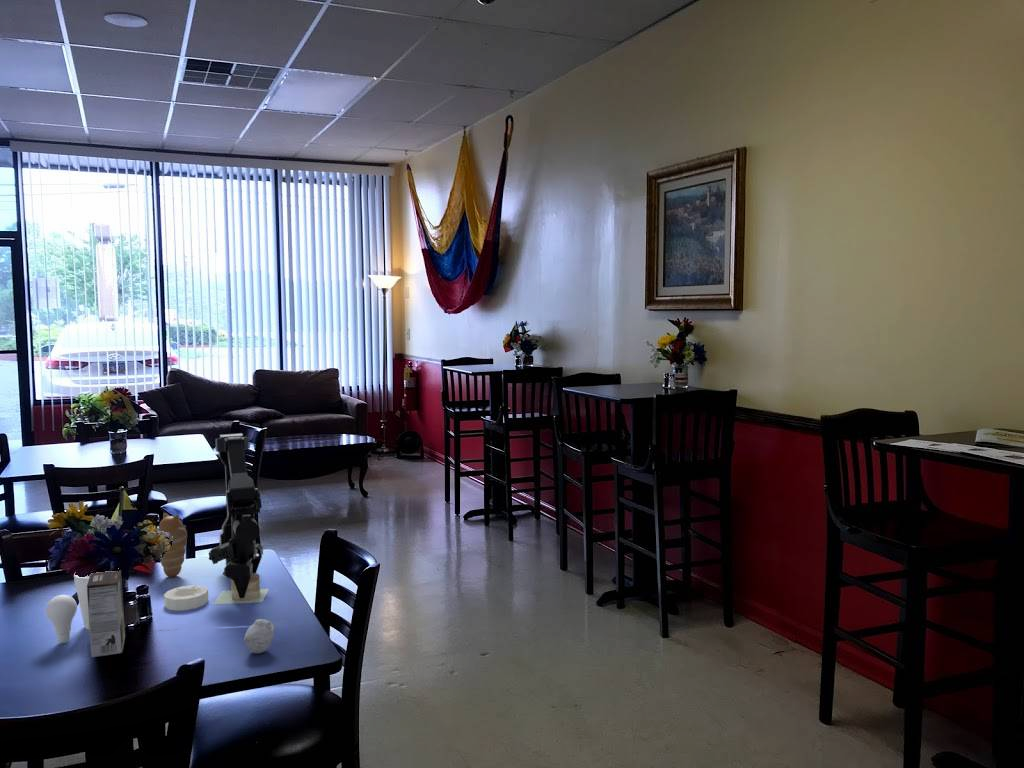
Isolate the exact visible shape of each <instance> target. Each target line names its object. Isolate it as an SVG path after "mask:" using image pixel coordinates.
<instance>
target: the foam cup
mask: <svg viewBox="0 0 1024 768" xmlns="http://www.w3.org/2000/svg"><path fill="white" fill-rule="evenodd" d="M73 579H74V586H75V589H76V593H77V594H76V595H77V598H78V602H79V603H78V604H79V608H80V614H81V617H82V622H83V626H84V629H85V630H88V631H89V613H88V596H87V584H88V581H89V576H88V575H87V576H85V577H79V576H78V575H75V573H74V574H73Z"/></svg>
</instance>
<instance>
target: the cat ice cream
mask: <svg viewBox="0 0 1024 768" xmlns="http://www.w3.org/2000/svg"><path fill="white" fill-rule="evenodd" d="M179 517H180V516H179V514H175V515H169V514H168V513H167V512H163V518H162V519H161V521H159V524H158V530H161V531H164V532H169V533H170V534H171V535H172V536H173V542H172V546H171V548H170V549H169V550H168V551H167V552H166V553H165V554H164V555H163V557H162V558H161V559H160V564H161V566H162V567H163V568H162V569H163V573H164V575H166V576H167V577H168V578H174V577H177V576H178V575H179V574H180V573H181V571H182V567H183V563H184V562H185V554H186V550H187V549H186V547H187V543H188V541H187V539H188V531H187V529H186V527H185V526H184V524H183V522H182V520H181V519H180V518H179Z"/></svg>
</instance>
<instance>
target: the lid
mask: <svg viewBox="0 0 1024 768" xmlns="http://www.w3.org/2000/svg"><path fill="white" fill-rule="evenodd" d="M260 584H261V583H260V574H259V573H257V572H256V573H252V576H251V579H250V582H249V585H248V588H247V591H246V594H245V597H244V598H239V595H238V592H237V589H236V586H235V583H234V581H233V580H232V579H230V586H231V589H230V590H231V592H232V599H233V600H236V601H247V600H252V599H255V598H257V597H259V596H260V589H261V588H260V587H261V586H260Z"/></svg>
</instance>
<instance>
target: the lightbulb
mask: <svg viewBox="0 0 1024 768" xmlns="http://www.w3.org/2000/svg"><path fill="white" fill-rule="evenodd" d="M77 610H78V604H77V601H76V600H75V599H74V598H73V597H72V596H71V595H68V594H59V595H56V596H54V597H53V598H51V599H50V600H49V601H48V603H47V605H46V608H45V614H46V617H47V618H48V620H49V621H50V622H51V624H52V626H53V628H54V633H55V634H56V635H55V636H56V642H58V643H60V644H65V643H67V642H68V641H70V638H71V630H72V622H73V619H74V617H75V615H76V614H77Z"/></svg>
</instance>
